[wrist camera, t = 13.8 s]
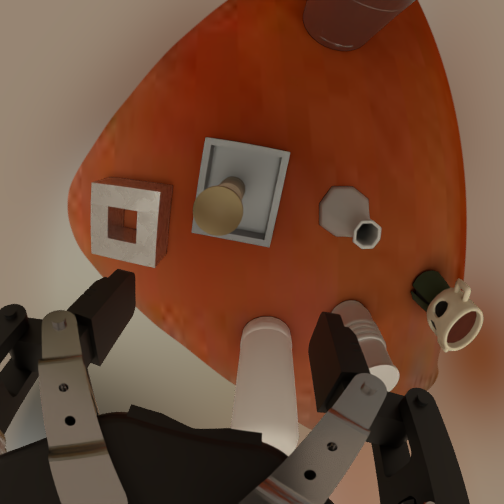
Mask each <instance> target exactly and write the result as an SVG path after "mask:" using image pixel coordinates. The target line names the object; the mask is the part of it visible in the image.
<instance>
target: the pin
mask: <svg viewBox="0 0 504 504" xmlns="http://www.w3.org/2000/svg"><path fill="white" fill-rule="evenodd" d="M244 193H245V184H244V182H243V181H242V180H241V179H240V178H238V177H228V178H226V179H225V180H223V181H222V182H221V183H220V184H219V185H218V186H212V187H209V188H207V189H205V190H204V191H203V192H201V193H200V194H199V195H198V197H197V198H196V200H195V202H194V205H193V216H194V219H195V221H196V223H197V225H198V226H199V227H200V228H201V229H202V230H203V231H204V232H206V233H208V234H211V235H215V236H222V235H226V234H229V233H231V232H232V231H234V230H235V229H236V228H237V227H238V225H239V224H240V222H241V219H242V216H243V204H242V198H243V196H244Z"/></svg>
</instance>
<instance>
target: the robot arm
mask: <svg viewBox="0 0 504 504" xmlns="http://www.w3.org/2000/svg"><path fill="white" fill-rule="evenodd" d="M414 1H415V0H307V3H306V6H305V10H304V14H303V22H304V25H305V28H306V30H307V31H308V33H309V34H310V35H311V36H312V37H313V38H314V39H315V40H316V41H317V42H319V43H320V44H322V45H324V46H326V47H328V48H331V49H334V50H339V51H349V50H354V49H357V48H359V47H361V46H362V45H364V44H365V43H366V42H367V41H368V40H369V39H370V38H371V37H373V36H374V35H375V34H376V33H377V32H378V31H380V30H381V29H382V28H383V27H384V26H385V25H386V24H388V23H389V22H390V21H391V20H392V19H393V18H395V17H396V16H397V15H398V14H399V13H401V12H402V11H403V10H404V9H405V8H407V7H408V6H409V5H410V4H411V3H413V2H414ZM135 303H136V302H135V274H134V273H133V272H129V271H125V270H121V269H117V270H116V271H114V272H113V273H112V274H111V275H110V276H109V277H108V278H107V277H104V278H102V279H100V280H97V281H96V282H94V283H93V284H92V285H91V286H90V287H89V289H87V290H86V291H85V292H84V294H82V295H81V296H80V297H79V298H78V299H77V300H76V301H75V302H74V303H73V304H72V305H71V306H70V307H69V308H68V310H67V311H64V310H57V311H53V312H51V313H49V314H47V315H46V316H45V317H44V318H43V320H42V319H34V318H28V317H27V313H26V310H25V308H24V307H23V306H21V305H18V304H11V305H7V306H5V307H3V308H1V310H0V363H1V362H2V360H3V359H4V358H5V357H6V355H7V354H8V353H10V355H11V359H10V360H9V362H8V363H7V364H6V366H5V367H4V368H3V370H2V371H1V372H0V504H334V503H333V502H332V501H331V500H330V499H329V496H330V495H331V494H332V492H333V491H334V489H335V488H336V487H337V485H338V484H339V482H340V481H341V479H342V478H343V476H344V475H345V473H346V472H347V470H348V469H349V467H350V466H351V464H352V463H353V461H354V459H355V458H356V456H357V455H358V453H359V451H360V450H361V448H362V446H363V445H364V443H365V441H366V442H370V443H371V444H372V449H373V455H374V461H375V467H376V474H377V480H378V487H379V496H380V504H470V503H469V499H468V495H467V491H466V488H465V484H464V481H463V477H462V474H461V471H460V467H459V464H458V461H457V458H456V455H455V452H454V449H453V446H452V443H451V441H450V438H449V436H448V432H447V430H446V427H445V424H444V422H443V419H442V417H441V414H440V412H439V409H438V407H437V405H436V402H435V400H434V398H433V397H432V395H431V394H430V393H429V392H427V391H425V390H423V389H421V388H412V389H410V390H409V391H408V392H407V393H406V395H405V396H402V395H399V394H395V393H391V392H388V391H387V388H386V386H385V384H384V382H383V381H382V380H381V379H379V378H378V377H376V376H374V375H372V374H371V373H370V370H369V368H368V365H367V362H366V360H365V357H364V354H363V352H362V349H361V346H360V345H359V341H358V339H357V336H356V334H355V333H354V332H353V331H352V330H351V329H350V328H349V327H345V326H344V323H343V321H342V318H341V315H340V314H335V313H329V312H322V313H321V315H320V317H319V319H318V322H317V325H316V327H315V330H314V332H313V335H312V337H311V340H310V343H309V350H308V353H309V360H310V366H311V372H312V379H313V386H314V392H315V399H316V406H317V412H323V413H326V414H325V415H324V416H323V418H322V419H321V420H320V421H319V422H318V424H317V425H316V426H315V427H314V428H313V430H312V431H311V432H310V433H309V434H308V436H307V437H306V438H305V439H304V440H303V441H302V442H301V443H300V445H299V446H298V447H297V448H296V449H295V450H294V451H293V452H292V453H291V454H290V455H289V456H287V455H286V454H285V453H284V452H282V451H281V450H279V449H277V448H275V447H274V446H271V445H269V444H267V443H264V442H262V433H259V432H251V431H244V430H237V429H231V428H223V429H194V428H191V427H189V426H186V425H184V424H182V423H180V422H178V421H176V420H174V419H172V418H170V417H168V416H166V415H164V414H162V413H158V412H155V411H151V410H148V409H145V408H142V407H138V406H135V405H131V406H130V409H129V412H111V413H106V414H101V415H100V413H99V410H98V407H97V403H96V400H95V396H94V392H93V389H92V385H91V381H90V377H89V373H88V369H87V368H88V366H89V364H90V363H93V364H96V365H98V366H101V364H102V363H103V361H104V359H105V358H106V356H107V355H108V353H109V351H110V350H111V348H112V347H113V345H114V344H115V342H116V340H117V339H118V337H119V336H120V334H121V333H122V331H123V330H124V328H125V327H126V325H127V324H128V322H129V321H130V319H131V318H132V316H133V313H134V310H135ZM38 376H39V384H40V394H41V403H42V411H43V418H44V424H45V430H46V435H47V437H46V438H44V439H41V440H39V441H37V442H34V443H31V444H29V445H26V446H23V447H21V448H18V449H15V450H12V451H9V452H7V451H6V448H5V446H6V439H5V435H4V434H5V432H6V430H7V428H8V426H9V425H10V423H11V421H12V419H13V417H14V416H15V414H16V412H17V411H18V409H19V407H20V405H21V404H22V402H23V400H24V399H25V397H26V395H27V394H28V392H29V390H30V389H31V387H32V386H33V384H34V383H35V381H36V379H37V378H38ZM407 440H409V444H410V448H411V457H410V453H409V449H408V445H407V442H406V441H407Z"/></svg>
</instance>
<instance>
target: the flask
mask: <svg viewBox="0 0 504 504" xmlns="http://www.w3.org/2000/svg"><path fill="white" fill-rule="evenodd" d="M319 225H320V226H322V227H323V228H325V229H326V230H327V231H329V232H330V233H331V234H333V235H334V236H345V237H353V242H354V243H355V244H356V245H358V246H359V247H360V248H361V249H372V248H374V247H375V245H376V244H377V243H378V241H379V240H380V237H381V227H380V226H379V225H378V224H377V223H375V222H374V221H373V220H371V219H370V217H369V201H368V198H366V197H365V196H364V195H363V194H362V193H360V192H359V191H358V190H357V189H355V188H354V187H353V186H332V187H331V188H330V190H329V191H328V193H327V194H326V195H325V197H324V198H323V199H322V201H321V202H320V203H319Z"/></svg>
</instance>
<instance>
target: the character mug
mask: <svg viewBox="0 0 504 504" xmlns="http://www.w3.org/2000/svg"><path fill="white" fill-rule="evenodd" d="M413 287H414V288H415V289H416V295H415V294H414V293H413V292H412V291H411V294H412V298H413V300H414V301H415V302H416V303H417V304H418V305H419V306H420V307H422V308H423V309H424V310H425V311H426V312H427V321H428V324H429V326H430V328H431V329H432V331H433V332H434V333H435V334H436V335H437V337H438V340H437V341H438V343H439V345H440V346H441V348H442V349H443V351H445V352H448V351H449V350H450V351H457V350H460V349H462V348H464V347H465V346H467V345H468V344H469V343H470V342H471V341H472V340H473V339H474V338H475V337H476V336H477V334H478V333H479V331H480V329H481V327H482V323H483V313H482V311H481V310H480V309H479V308H478V307H477V306H476V305H475V304H474V303H473V302H472V301H471V300H470V299H469V296H470V293H471V289H470V287H469V286H468V285H467V284H466V283H465V282H464V281H463V280H461V279H458V280H457V281H456V283H455V287H454V288H450V287H449V285H448V284H447V282H446V281H445V280H444V278H443V277H442V276H441V275H440V274H439V272H436V271H427V272H424V273H422V274H421V275H420V276H418V277H417V279H416V280H415V282H414V283H413ZM460 289H462V290H463V291H464V293H463V292H462V291H461V290H460Z"/></svg>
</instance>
